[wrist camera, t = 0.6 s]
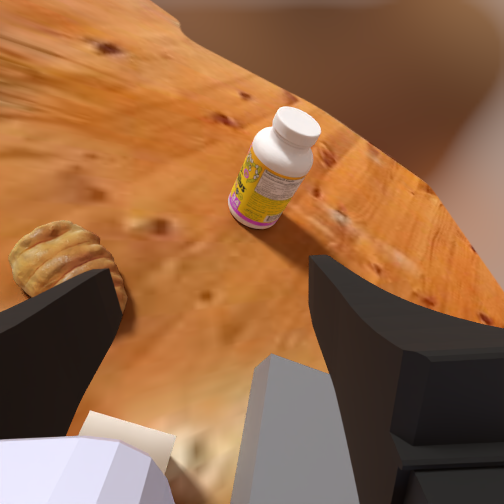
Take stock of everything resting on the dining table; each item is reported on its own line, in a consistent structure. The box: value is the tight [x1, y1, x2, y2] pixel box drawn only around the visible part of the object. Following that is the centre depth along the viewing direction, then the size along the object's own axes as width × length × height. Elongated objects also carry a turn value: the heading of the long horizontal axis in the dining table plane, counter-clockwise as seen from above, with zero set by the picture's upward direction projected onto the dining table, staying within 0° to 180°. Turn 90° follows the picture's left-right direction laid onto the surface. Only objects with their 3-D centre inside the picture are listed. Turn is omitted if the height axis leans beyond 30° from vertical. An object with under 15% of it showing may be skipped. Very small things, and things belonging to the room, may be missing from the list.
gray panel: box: [230, 354, 359, 504], centre depth 24 cm, size 12×12×4 cm
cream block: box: [78, 411, 176, 475], centre depth 18 cm, size 5×5×5 cm
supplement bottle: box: [228, 107, 321, 229], centre depth 35 cm, size 7×7×13 cm
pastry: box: [9, 220, 128, 313], centre depth 25 cm, size 9×7×4 cm
